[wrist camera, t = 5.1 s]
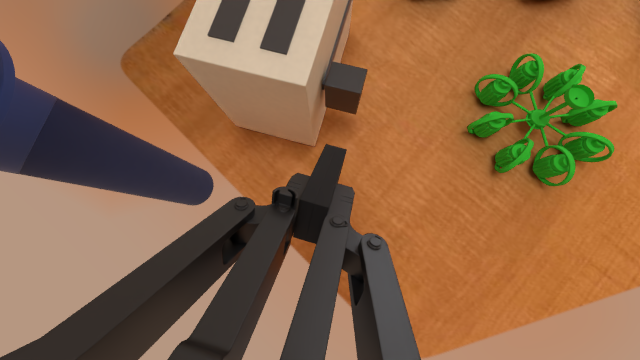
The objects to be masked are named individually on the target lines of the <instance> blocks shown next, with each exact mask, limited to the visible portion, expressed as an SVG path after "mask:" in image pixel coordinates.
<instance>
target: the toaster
mask: <svg viewBox="0 0 640 360" xmlns="http://www.w3.org/2000/svg"><path fill="white" fill-rule="evenodd" d="M352 2H353V0H197V1H196V3H195V5H194V8H193V10H192V12H191V14H190V17H189V19H188V21H187V23H186V26H185V28H184V30H183V32H182V35H181V37H180V39H179V42H178V44H177V46H176V48H175V51H174V53H173V54H174V55H175V56H176V58H177V59H178V60H179V61H180V62H181V63H182V64H183V66H184V67H185V68H186V69H187V70H188V71H189V73H190V74H191V75H192V76H193V77H194V78H195V79H196V81H197V82H198V83H199V84H200V85H201V86H202V87H203V89H204V90H205V91H206V92H207V93H208V94H209V95H210V97H211V98H212V99H213V100H214V101H215V102H216V103H217V105H218V106H219V107H220V108H221V109H222V110H223V111H224V113H225V114H226V115H227V116H228V117H229V118H230V119H231V121H232V122H233V123H234V124H235V125H236V126H238V127H242V128H246V129H250V130H253V131H257V132H261V133H265V134H268V135H272V136H276V137H280V138H283V139H287V140H291V141H295V142H299V143H302V144H306V145H310V146H314V147H315V144H316V141H317V138H318V135H319V131H320V128H321V125H322V121H323V118H324V115H325V111H326V108H327V107H325V82H326V79H327V76H328V72H329V69H330V66H331V63H332V61H333V62H338V63H340V62H341V59H342V55H343V52H344V49H345V45H346V42H347V39H348V35H349V30H350V21H351V12H352Z"/></svg>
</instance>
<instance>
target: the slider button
mask: <svg viewBox="0 0 640 360" xmlns="http://www.w3.org/2000/svg"><path fill="white" fill-rule="evenodd" d="M366 74H367V69H363V68H359V67H354V66H350V65H346V64H342V63H338V62H333V61H332V63H331V66H330V69H329V72H328V76H327V79H326V82H325V107H328V108H332V109H336V110H340V111H344V112H348V113H352V114H356V112H357V108H358V105H359V101H360V97H361V94H362V90H363V86H364V82H365V78H366Z"/></svg>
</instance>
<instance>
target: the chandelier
mask: <svg viewBox="0 0 640 360" xmlns="http://www.w3.org/2000/svg"><path fill="white" fill-rule="evenodd" d="M527 56H531V57H533V58H534V59H535V60H536V61H533V60H532V61H528V62H527V63H525V64H523V65H521V66H520V67H519V68H517V66H518V64H519V63H520V62H521V60H522V59H524V58H525V57H527ZM516 68H517V69H516ZM577 69H579V70H577ZM585 69H586V67H585V66H584V65H582V64H577V65H575V66H573V67H572V68H570V69H569V70H567V71H565V72H561V73H560V74H558V75H557V76H555V77H554V78H552V79H551V80H549V81H548V82H547V83H545V85H544V87H543V91H544V95H543V99H545V100H547V101H549V102H548V103H547V105H546V106H545V108H544V109H543V110H541V109H537V106H536V103H535V100H534V96H533V93H532V91H533V90H535V89H536V88H537V87H538V85H539V84H540V82H541V80H542V77H543V73H544V65H543V61H542V59H541V58H540V56H538V55H537V54H525V55H522V56H521V57H519V58H518V59H517V60H516V61H515V63H514V64H513V66H512V68H511V71H510V76H509V78H508V77H506V76H503V75H498V74H490V75H486V76H484V77H482V78H481V79H480V80H479V81H478V82H477V84H476V85H475V93H476V95H477V97H478V98H479V99H480V101H481V102H482V103H483V104H485V105H491V106H506V105H509V104H511V103H513V104H514V105H516V106H517V107H519V108H520V109H522V110H524V111H525V112H527V113H528V114H527V115H526V119H520V120H514V118H513V115H512V114H510V113H500V112H497V111H494V112H491V113H489V114H486V115H484V116H483V117H482V118H480V119H479V120H477V121H475V122H473V123H471V124H470V125H469V126H468V127H467V129H468V132H469V133H471V134H476V135H477V136H479V137H488V136H490V135H492V134H494V133H496V132H497V131H499V130H500V129H501V128H502V127H504V126H507V125H509V124H510V123H514V122H522V121H526V122H527V124H528V125H529V126H530V127H531V128H530V129H529V131H528V132H527V134H526V135H525V137H524V138H523V139H521V140H519V141H518V142H516V143H515V144H513V145H510V146H508V147H506V148H504V149H501V150H500V151H499V152H498V153H496V155H495V161H496V164H495V170H496V171H498V172H499V173H504V172H507V171H509V170H510V169H512V168H514V167H515V166H516V165H519V164H522V163H523V162H525V161H526V160H528V159H529V158H530V155H531V152H530V151H531V149H532V148H533V145H534V142H533V141H532V140H530V139H529V138H527V137H528V135H529V134H530V133H531V131H532V130H533V128H534V129H540V130H541V133H542V136H543V140H544V143H545V146H546V147H544V148H542V149H541V150H539V152H538V153H537V154H536V156H535V159H534V164H533V172H534V173H535V174H536V175H537V177H538V178H539V179H540V181H542V182H543V183H544V184H546V185H549V186H560V185H564V184H566V183H568V182H569V181H570V180H571V179H572V177H573V175H574V173H575V161H574V160H579V161H584V162H599V161H603V160H606V159H608V158H609V157H610V156H611V155H612V153H613V152H614V146H613V144H612V143H611V142H610V141H609V140H608V139H606V138H605V137H603V136H600V135H597V134H594V133H588V132H573V133H569V134H565V133H563V132H562V131H560V130H559V129H557V128H555V127H554V126H552V125H551V124H549V123H548V122H549V120H550V118H556V117H561V120H562V122H563V123H570V124H571V125H573V126H582V125H585V124H588V123H590V122H593V121H595V120H597V119H600V118H601V117H602V116H603V115H605V114H607V113H608V112H610V111H612V110H614V109H615V108H617V103H616V101H602V100H598V99H596V100H594V93H593V92H592V90H591V89H590V88H588V87H587V86H585V85H577V84H579V83H580V82H581V80H582V74H583V73H584V71H585ZM486 79H496V80H494V81H492V82H490V83H489V84H488V85H487V86H486V87H485V88H484V89H483V90H482V91H481V92H480V91H479V88H478V86H479V83H480V82H481V81H483V80H486ZM535 79H536V81H535V83H534V84H533V86H532V87H531V88H530V89H529V90H527V91H526V92H521V91H520V90H518V89H522V88H524V87H525V86H527V85H528V84H529V83H531V82H532V81H534V80H535ZM511 88H512V90H513V91H514V97H513V99H511V100H510V101H507V102H498V101H499V100H501V99H502V98H503V97H505V96H506V95H507V93H508V92H509V91H510V89H511ZM527 93H530V97H531V100H532V103H533V107H534V110H532V111H529V110H527V109H525V108H524V107H522V106H521V105H519V104H518V103H516V102H514V100H515V98H516V97H517V95H518V94H527ZM563 94H564V99H565V103H563V104H561V105H559V106H557V107H555V108H553V109H552V110H550V111H548V112H546V109H547V108H548V106H549V105H550V103H551V102H552V100H553V99H554V98H556V97H559V96H561V95H563ZM567 105H569V106H570V107H571V108H573V109H571V110H570V111H569V112H568V113H567V114H562V115H554V116H549V115H550V114H552V113H554V112H556V111H558V110H560V109H561V108H563V107H565V106H567ZM506 118H509V119H508V120H506ZM546 125H547V126H549V127H550V128H552V129H554V130H555V131H557V132H558V133H560V134H561V135H563V137H562V138H561V139H560V141H559V142H558V145H553V146H548V142H547V139H546V136H545V133H544V129H543V128H544V127H545V126H546ZM488 126H489V127H488ZM484 127H485V128H484ZM472 128H473V129H472ZM569 137H581V138H578V139H575V140H573V141H570V142H568V143H566V144H565V145H564V146H563V145H562V141H563V140H564V139H566V138H569ZM527 142H528V144H527V146H526V145H524V143H527ZM605 145H606V146H607V147H608V149H609V154H607V155H605V156H603V157H597V158H589V157H590V156H594V155H595V154H597V153H599V152H601V151H603V150H604V148H605ZM549 148H556V149H558V150H560V151H561V152H562V153H563V154H558V155H557V154H556V155H550V156H547V157H544V158H541V155H542V154H543V152H544V151H546V150H547V149H549ZM511 157H512V158H511ZM540 158H541V159H540ZM500 167H503V168H501V169H500ZM567 171H568V174H567V176H566V178H565V179H564V180H563V181H562V182H560V183H558V184H554V183H551V182H549V181H548V180H546V179H545V178H549V177H553V176H557V175H561V174H564V173H565V172H567Z"/></svg>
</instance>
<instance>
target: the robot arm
mask: <svg viewBox="0 0 640 360" xmlns="http://www.w3.org/2000/svg"><path fill="white" fill-rule="evenodd" d="M345 154H346V149H343V148H339V147H335V146H331V145H328V144H326V145H325V147H324V149H323V151H322V154H321V156H320V158H319V160H318V162H317V164H316V166H315V168H314V170H313V172H312V174H311V176H307V175H303V174H300V173H297V174H295V175H293V176H292V177H291V179H290V180H289V182H288V184H287V186H286V187H278V188H276V189H275V190H273V194H272V204H271V205H267V206H259V205H255V203H254V201H253V200H251V199H250V198H247V197H237V198H234V199H232V200H231V201H229V202H228V203H226V204H225V205H224V206H222V207H221V208H220V209H218V210H217V211H215V212H214V213H213V214H211V215H210V216H208V217H207V218H206V219H204V220H203V221H201V222H200V223H199V224H197V225H196V226H195V227H193V228H192V229H191V230H189V231H188V232H186V233H185V234H184V235H182V236H181V237H179V238H178V239H177V240H175V241H174V242H172V243H171V244H170V245H168V246H167V247H165V248H164V249H163V250H161V251H160V252H159V253H157V254H156V255H154V256H153V257H152V258H150V259H149V260H148V261H146V262H145V263H143V264H142V265H141V266H139V267H138V268H136V269H135V270H134V271H132V272H131V273H130V274H128V275H127V276H125V277H124V278H123V279H121V280H120V281H119V282H117V283H116V284H114V285H113V286H112V287H110V288H109V289H107V290H106V291H105V292H103V293H102V294H100V295H99V296H98V297H96V298H95V299H94V300H92V301H91V302H90V303H88V304H87V305H85V306H84V307H83V308H81V309H80V310H78V311H77V312H76V313H74V314H73V315H71V316H70V317H69V318H67V319H66V320H65V321H63V322H62V323H60V324H59V325H58V326H56V327H55V328H53V329H52V330H51V331H49V332H48V333H47V334H45V335H44V336H42V337H41V338H39V339H37V340H35V341H33V342H31V343H29V344H27V345H25V346H23V347H21V348H19V349H17V350H15V351H13V352H11V353H9V354H7V355H4V356H2V357H1V358H0V360H138V359H139V358H140V357H141V356H142V355H143V354H144V353H145V352H146V351H147V350H148V349H149V348H150V347H151V346H152V345H153V344H154V343H155V342H156V341H157V340H158V339H159V338H160V337H161V336H162V335H163V334H164V333H165V332H166V331H167V330H168V329H169V328H170V327H171V326H172V325H173V324H174V323H175V322H176V321H177V320H178V319H179V318H180V317H181V316H182V315H183V314H184V313H185V312H186V311H187V310H188V309H189V308H190V307H191V306H192V305H193V304H194V303H195V302H196V301H197V300H198V299H199V298H200V297H201V296H202V295H203V294H204V293H205V292H206V291H207V290H208V289H209V288H210V287H211V286H212V285H213V284H214V283H215V282H216V281H217V280H218V279H219V278H220V277H221V276H222V275H223V274H224V273H225V272H226V271H227V270H228V268H230V267H231V266H232V265H233V264H234V263H235V264H234V266H233V267H232V269H231V271H230V272H229V274H228V276H227V277H226V279H225V281H224V282H223V284H222V286H221V287H220V289H219V290H218V292H217V294H216V295H215V297H214V298H213V300H212V302H211V303H210V305H209V307H208V308H207V310H206V311H205V313H204V315H203V317H202V318H201V320H200V321H199V323H198V324H197V326H196V328H195V330H194V331H193V333H192V334H191V335H190V337H189V338H188V339H187V340H185V341H182V342H181V343H180V344H179V345H178V346H177V347H176V348H175V350H174V351H173V353H172V354H171V355H170V357H169V358H168V360H242V357H243V355H244V353H245V350H246V348H247V345H248V343H249V341H250V338H251V336H252V334H253V331H254V329H255V327H256V324H257V322H258V319H259V317H260V315H261V313H262V310H263V308H264V305H265V303H266V301H267V298H268V296H269V293H270V291H271V289H272V287H273V284H274V282H275V279H276V277H277V275H278V272H279V270H280V268H281V265H282V263H283V260H284V258H285V256H286V253H287V251H288V248H289V246H290V243H291V238H292V235H293V237H295V238H298V239H301V240H305V241H308V242H311V243H315V244H316V247H315V250H314V253H313V257H312V260H311V263H310V266H309V269H308V273H307V276H306V279H305V282H304V285H303V288H302V291H301V294H300V298H299V301H298V304H297V307H296V310H295V314H294V317H293V320H292V323H291V326H290V329H289V332H288V336H287V339H286V342H285V345H284V348H283V351H282V354H281V358H280V360H325V355H326V350H327V344H328V339H329V333H330V328H331V323H332V317H333V311H334V307H335V301H336V296H337V291H338V285H339V280H340V275H341V269H343V270H344V271H346V272H347V273H348V280H349V289H350V298H351V306H352V315H353V323H354V332H355V341H356V349H357V358H358V360H421V358H420V355H419V351H418V348H417V344H416V341H415V338H414V334H413V331H412V327H411V324H410V320H409V317H408V314H407V310H406V307H405V303H404V300H403V296H402V293H401V290H400V286H399V283H398V279H397V276H396V272H395V269H394V266H393V262H392V259H391V255H390V252H389V248H388V245H387V243H386V241H385V240H384V239H383V238H382V237H380V236H378V235H376V234H372V233H369V234H365V235H361V234H359V233H358V232H356V231H355V230H354V229H353V228H352V227H351V225H350V215H351V210H352V205H353V199H354V194H355V193H354V190H353V188H352V187H349V186H345V185H341V184H338V180H339V176H340V173H341V169H342V165H343V162H344V158H345ZM293 233H294V234H293Z"/></svg>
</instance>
